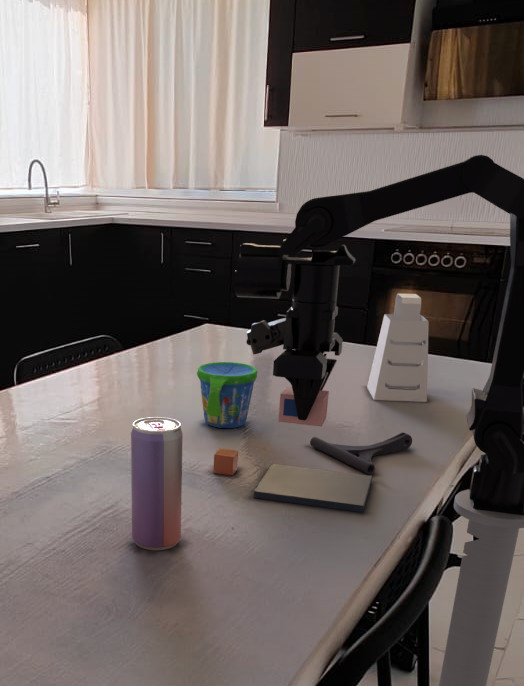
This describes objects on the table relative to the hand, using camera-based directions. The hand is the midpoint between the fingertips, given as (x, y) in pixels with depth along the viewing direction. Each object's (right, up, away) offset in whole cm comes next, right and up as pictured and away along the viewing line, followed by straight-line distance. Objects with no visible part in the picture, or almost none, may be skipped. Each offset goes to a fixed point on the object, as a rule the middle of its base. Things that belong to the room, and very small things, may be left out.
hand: (305, 415), depth 107 cm
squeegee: (+14, -4, +18) cm, 24 cm away
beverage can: (-20, -17, -12) cm, 30 cm away
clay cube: (-10, -7, +11) cm, 16 cm away
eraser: (0, -1, 0) cm, 1 cm away
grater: (+29, +11, +54) cm, 62 cm away
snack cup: (-9, +2, +33) cm, 35 cm away
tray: (+2, -10, +4) cm, 11 cm away
